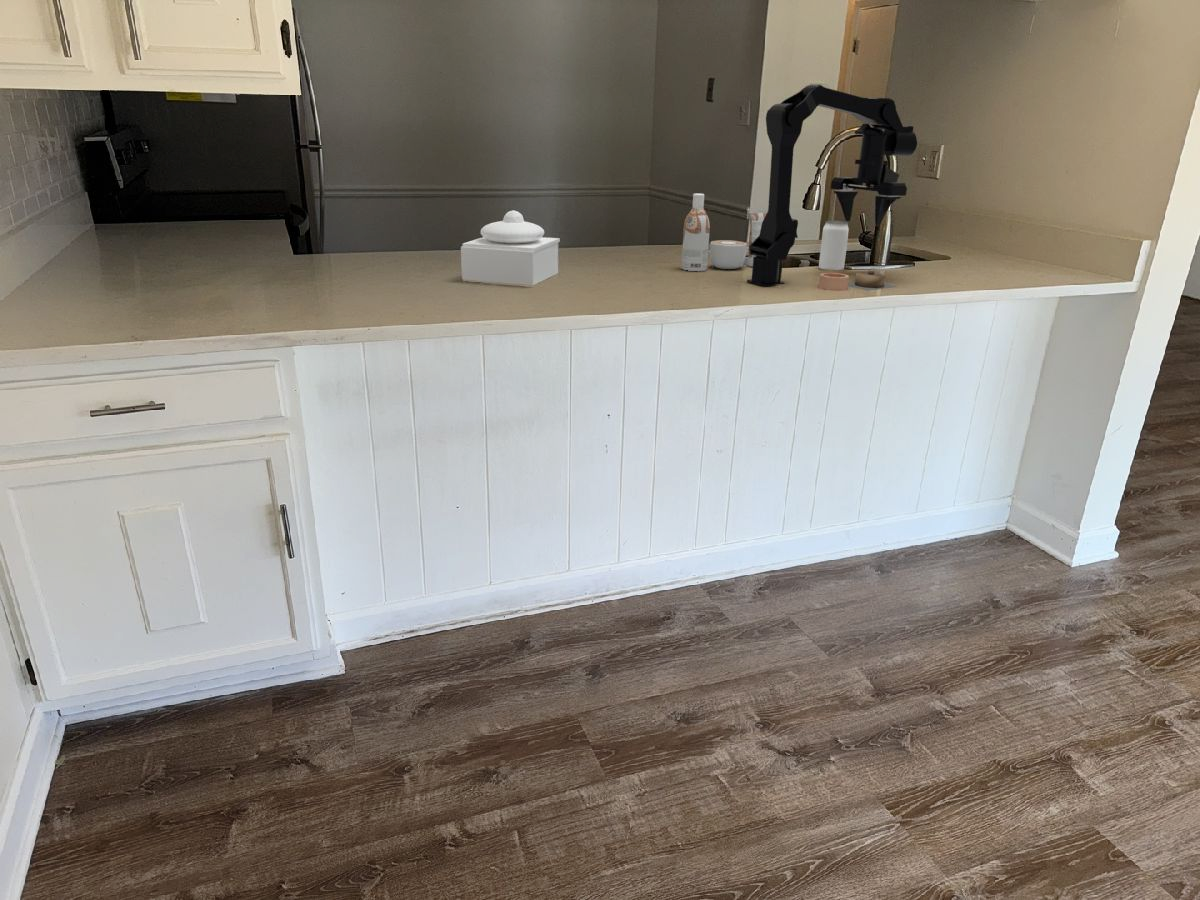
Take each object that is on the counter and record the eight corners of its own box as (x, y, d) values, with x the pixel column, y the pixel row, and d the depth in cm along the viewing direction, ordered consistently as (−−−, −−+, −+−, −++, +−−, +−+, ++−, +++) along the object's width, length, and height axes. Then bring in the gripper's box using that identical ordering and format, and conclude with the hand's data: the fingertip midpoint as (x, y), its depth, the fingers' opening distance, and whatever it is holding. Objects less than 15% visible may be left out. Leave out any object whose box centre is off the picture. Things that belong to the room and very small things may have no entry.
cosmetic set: (757, 263, 230) (763, 191, 223) (776, 269, 222) (783, 194, 215) (674, 267, 221) (678, 192, 214) (691, 273, 213) (696, 195, 206)
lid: (870, 289, 197) (872, 274, 196) (848, 284, 202) (850, 269, 201) (889, 286, 200) (891, 272, 199) (868, 281, 206) (870, 267, 204)
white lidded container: (462, 282, 197) (459, 211, 191) (493, 270, 213) (491, 204, 207) (532, 288, 192) (532, 216, 186) (559, 275, 208) (559, 208, 202)
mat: (867, 291, 196) (867, 290, 196) (841, 285, 202) (841, 284, 202) (896, 288, 201) (897, 286, 201) (870, 282, 207) (870, 280, 207)
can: (844, 271, 220) (850, 224, 216) (818, 270, 221) (824, 223, 217) (842, 267, 226) (848, 221, 222) (818, 266, 227) (823, 220, 223)
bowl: (832, 292, 194) (834, 278, 193) (812, 287, 199) (814, 274, 198) (852, 290, 197) (854, 276, 196) (832, 285, 202) (833, 272, 201)
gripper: (927, 158, 198) (915, 227, 203) (864, 153, 212) (855, 217, 218) (895, 158, 192) (884, 228, 198) (833, 153, 206) (824, 219, 212)
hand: (862, 223), depth 206 cm, fingers open, 9 cm apart
